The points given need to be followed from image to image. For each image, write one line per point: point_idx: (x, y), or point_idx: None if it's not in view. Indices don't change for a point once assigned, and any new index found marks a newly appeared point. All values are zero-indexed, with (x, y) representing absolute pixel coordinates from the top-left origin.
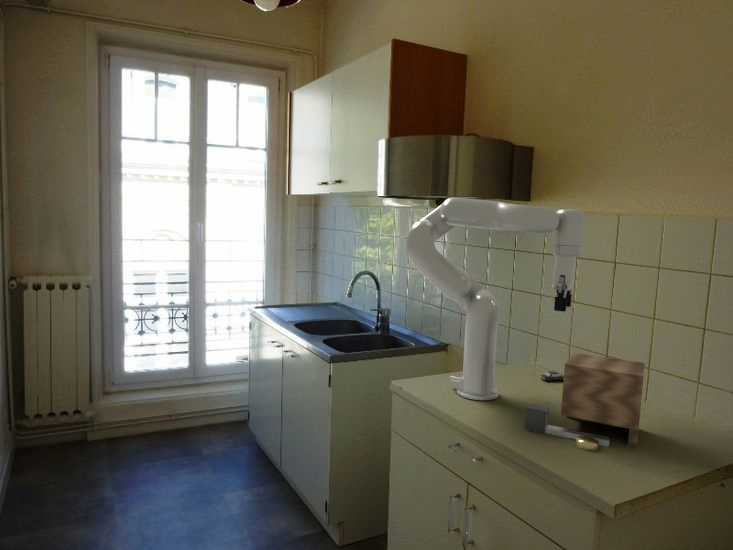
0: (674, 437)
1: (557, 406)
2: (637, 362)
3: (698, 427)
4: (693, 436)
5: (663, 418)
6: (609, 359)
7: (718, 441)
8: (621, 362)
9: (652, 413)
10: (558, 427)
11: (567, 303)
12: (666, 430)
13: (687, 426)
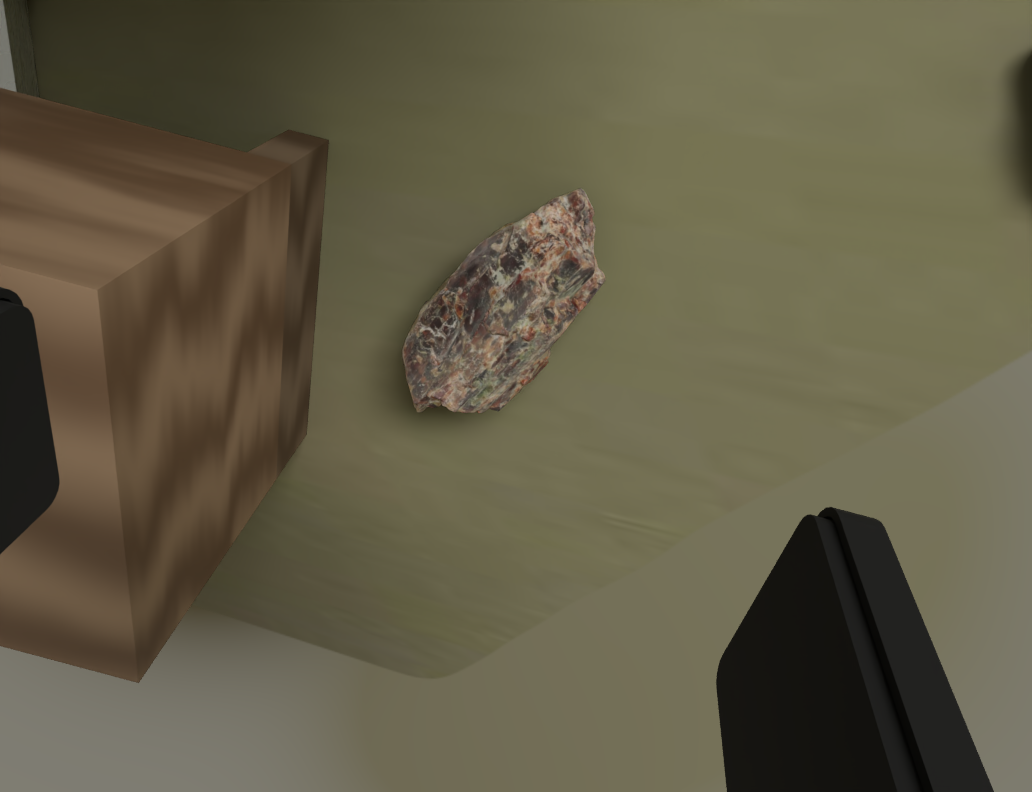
0: (281, 525)
1: (456, 92)
2: (117, 651)
3: (434, 626)
4: (327, 583)
5: (487, 553)
6: (69, 522)
7: (320, 632)
8: (43, 571)
9: (537, 534)
10: (3, 60)
11: (749, 693)
12: (344, 522)
13: (428, 599)
